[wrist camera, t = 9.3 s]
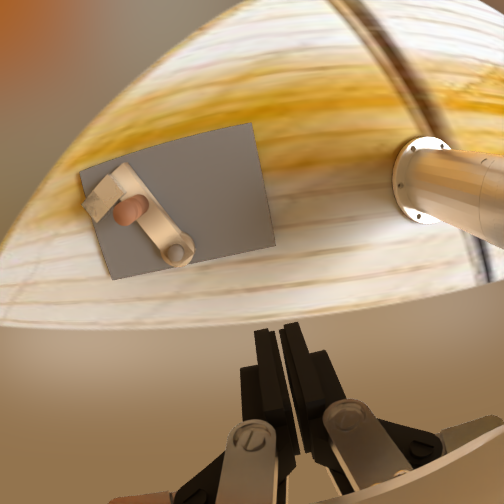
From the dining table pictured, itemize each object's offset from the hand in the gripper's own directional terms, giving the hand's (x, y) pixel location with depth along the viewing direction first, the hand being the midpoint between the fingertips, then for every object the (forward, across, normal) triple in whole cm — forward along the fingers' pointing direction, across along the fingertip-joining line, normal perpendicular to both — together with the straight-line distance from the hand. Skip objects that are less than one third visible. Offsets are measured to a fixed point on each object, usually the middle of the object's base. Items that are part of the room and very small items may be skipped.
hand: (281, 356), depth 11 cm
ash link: (+25, +11, -3) cm, 28 cm away
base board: (+27, +8, -3) cm, 29 cm away
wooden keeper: (+26, +16, -6) cm, 31 cm away
